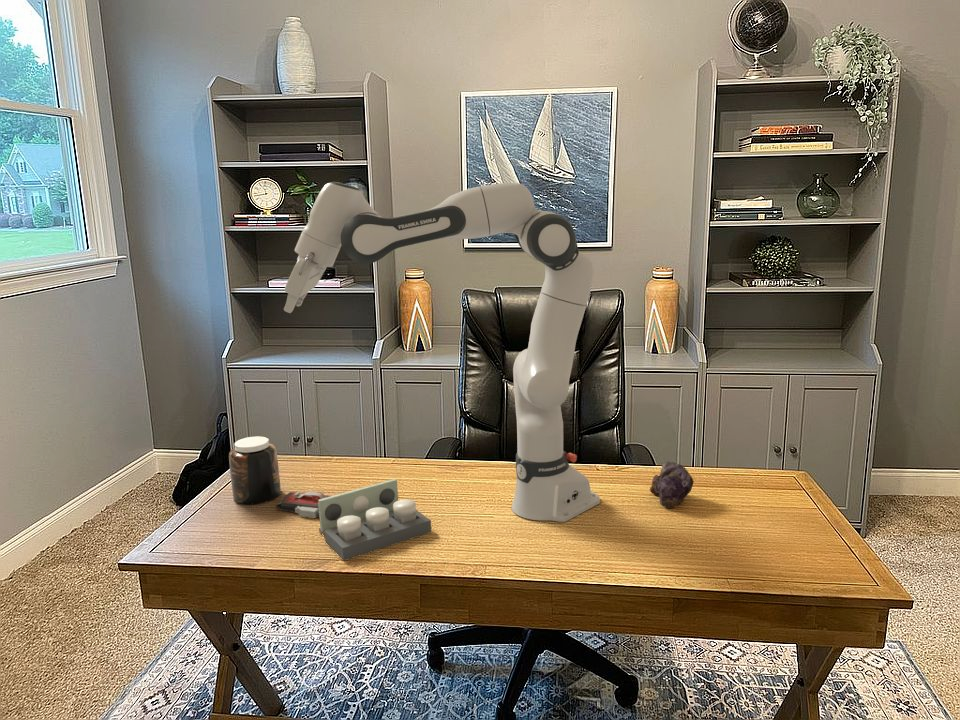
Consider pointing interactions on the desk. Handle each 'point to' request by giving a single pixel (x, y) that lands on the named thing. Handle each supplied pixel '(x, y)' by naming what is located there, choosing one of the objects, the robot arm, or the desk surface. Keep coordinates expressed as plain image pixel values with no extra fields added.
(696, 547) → the desk surface
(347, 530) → the button
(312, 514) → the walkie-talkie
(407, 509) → the button
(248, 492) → the jar
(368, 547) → the button board
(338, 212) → the robot arm
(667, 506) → the rock
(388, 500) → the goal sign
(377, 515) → the button middle
